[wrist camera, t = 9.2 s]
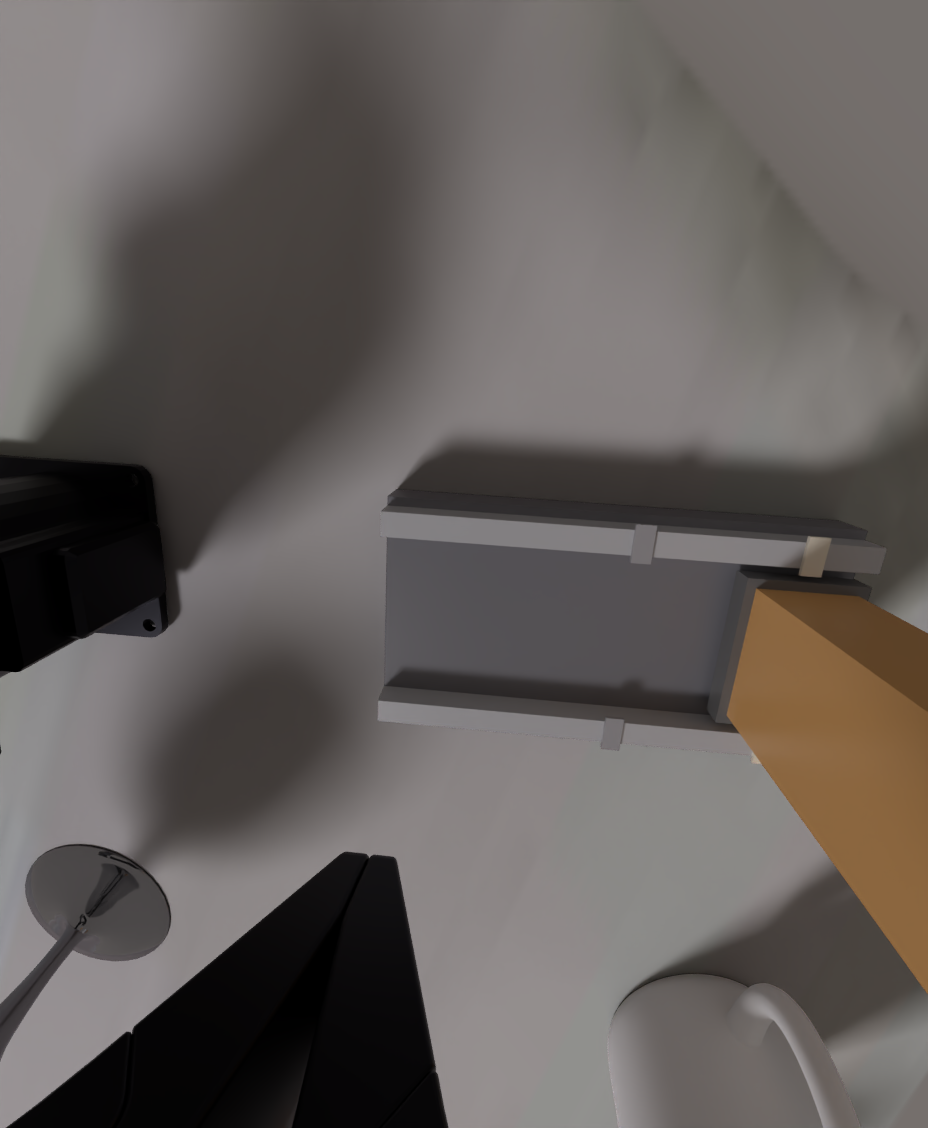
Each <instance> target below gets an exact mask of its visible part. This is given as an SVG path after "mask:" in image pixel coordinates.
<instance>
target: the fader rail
mask: <svg viewBox="0 0 928 1128" xmlns="http://www.w3.org/2000/svg"><path fill="white" fill-rule="evenodd" d="M866 535H867V530H864V529H861V528H858V527H855V526H853V525H850V524H847V523H844V522H841V521H837V520H823V519H809V518H795V517H781V516H767V515H753V514H738V513H724V512H710V511H696V510H682V509H668V508H654V507H640V506H626V505H612V504H598V503H583V502H569V501H555V500H541V499H527V498H513V497H499V496H485V495H471V494H457V493H443V492H428V491H414V490H400V489H396V490H395V491H394V492H392V493H391V494H390V495H389V496H388V505H387V506H386V507H385V508H384V509H383V510H382V511H381V527H380V537H387V563H386V620H385V677H384V688H383V690H382V693H381V695H380V697H379V700H378V721H384V722H395V723H406V724H416V725H427V726H438V727H449V728H459V729H470V730H481V731H492V732H502V733H513V734H524V735H534V736H545V737H556V738H567V739H577V740H588V741H599V742H601V749H607V750H618V751H619V748H620V744H631V745H642V746H652V747H663V748H674V749H685V750H695V751H706V752H717V753H727V754H738V755H749V756H752V757H751V762H752V763H756V764H761V762H760V761H759V760H758V758H757V757H756V755H755V754H754V753H753V751H752V750H751V749H750V747H749V746H748V744H747V743H746V742H745V740H744V739H743V737H742V736H741V735H740V733H739V732H738V731H737V729H736V728H735V726H734V725H733V724H727V723H716V722H715V721H714V720H713V718H712V717H711V715H710V714H709V712H708V711H707V709H706V708H707V704H708V699H709V695H710V690H711V686H712V681H713V677H714V672H715V668H716V663H717V659H718V654H719V649H720V645H721V640H722V636H723V631H724V627H725V622H726V618H727V613H728V609H729V604H730V600H731V595H732V591H733V586H734V581H735V577H736V572H737V570H740V571H753V572H766V573H779V574H792V575H800V576H807V577H831V578H845V579H854V576H855V573H868V574H880V571H881V568H882V564H883V561H884V558H885V555H886V551H887V548H885V547H882V546H879V545H877V544H874V543H871V542H869V541H866V540H865V538H866Z"/></svg>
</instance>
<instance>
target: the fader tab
mask: <svg viewBox="0 0 928 1128" xmlns="http://www.w3.org/2000/svg"><path fill="white" fill-rule="evenodd" d="M871 589H872V588H871V587H869V586H867V585H865V584H863V583H861V582H859V581H857V580H855V579H845V578H831V577H807V576H800V575H792V574H779V573H766V572H753V571H740V570H737V572H736V577H735V581H734V586H733V591H732V595H731V600H730V604H729V609H728V613H727V618H726V622H725V627H724V631H723V636H722V640H721V645H720V649H719V654H718V659H717V663H716V668H715V672H714V677H713V681H712V686H711V690H710V695H709V699H708V704H707V708H706V709H707V711H708V712H709V714H710V715H711V717H712V718H713V720H714V721H715V722H716V723H727V724H733V725H734V726H735V728H736V729H737V731H738V732H739V733H740V735H741V736H742V737H743V739H744V740H745V742H746V743H747V744H748V746H749V747H750V749H751V750H752V751H753V753H754V754H755V755H756V757H757V758H758V760H759V761H760V762H761V764H762V765H763V767H764V768H765V769H766V771H767V772H768V773H769V775H770V776H771V778H772V779H773V780H774V782H775V783H776V785H777V786H778V787H779V789H780V790H781V792H782V793H783V794H784V796H785V797H786V798H787V800H788V801H789V803H790V804H791V805H792V807H793V808H794V810H795V811H796V812H797V814H798V815H799V816H800V818H801V819H802V821H803V822H804V823H805V825H806V826H807V828H808V829H809V830H810V832H811V833H812V834H813V836H814V837H815V839H816V840H817V841H818V843H819V844H820V846H821V847H822V848H823V850H824V851H825V852H826V854H827V855H828V857H829V858H830V859H831V861H832V862H833V864H834V865H835V866H836V868H837V869H838V871H839V872H840V873H841V875H842V876H843V877H844V879H845V880H846V882H847V883H848V884H849V886H850V887H851V889H852V890H853V891H854V893H855V894H856V895H857V897H858V898H859V900H860V901H861V902H862V904H863V905H864V907H865V908H866V909H867V911H868V912H869V913H870V915H871V916H872V918H873V919H874V920H875V922H876V923H877V925H878V926H879V927H880V929H881V930H882V932H883V933H884V934H885V936H886V937H887V938H888V940H889V941H890V943H891V944H892V945H893V947H894V948H895V950H896V951H897V952H898V954H899V955H900V956H901V958H902V959H903V961H904V962H905V963H906V965H907V966H908V968H909V969H910V970H911V972H912V973H913V974H914V976H915V977H916V979H917V980H918V981H919V983H920V984H921V986H922V987H923V988H924V990H925V991H926V992H927V994H928V633H926V632H924V631H922V630H920V629H919V628H917V627H915V626H913V625H911V624H909V623H907V622H906V621H904V620H902V619H900V618H898V617H896V616H894V615H892V614H891V613H889V612H887V611H885V610H883V609H881V608H879V607H878V606H876V605H874V604H872V603H870V602H868V599H869V596H870V593H871Z"/></svg>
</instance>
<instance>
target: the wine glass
mask: <svg viewBox="0 0 928 1128" xmlns="http://www.w3.org/2000/svg"><path fill="white" fill-rule="evenodd" d="M25 893H26V898H27V902H28V905H29V907H30V909H31V912H32V914H33V915H34V917H35V918H36V920H37V921H38V923H39V924H40V925H41V926H42V927H43V928H44V929H45V931H46V932H47V933H49V934H50V935H51V936H52V937H53V938H54V939H56V940H57V942H56V943H55V945H54V946H53V947H52V948H51V949H50V951H49V952H48V953H47V954H46V956H45V957H44V958H43V959H42V960H41V961H40V963H39V964H38V965H37V966H36V967H35V968H34V969H33V970H32V972H31V973H30V974H29V975H28V976H27V977H26V978H25V979H24V980H23V981H22V982H21V983H20V984H19V985H18V986H17V987H16V988H15V989H14V991H13V992H12V993H11V994H10V995H9V996H8V997H7V998H6V999H5V1000H4V1001H3V1002H2V1003H1V1004H0V1061H1V1058H2V1056H3V1054H4V1051H5V1049H6V1047H7V1045H8V1043H9V1042H10V1040H11V1038H12V1036H13V1035H14V1033H15V1031H16V1030H17V1028H18V1027H19V1025H20V1023H21V1022H22V1020H23V1019H24V1017H25V1015H26V1014H27V1012H28V1011H29V1009H30V1008H31V1006H32V1005H33V1003H34V1002H35V1000H36V999H37V997H38V996H39V994H40V993H41V991H42V990H43V988H44V987H45V986H46V984H47V983H48V981H49V980H50V979H51V977H52V976H53V974H54V973H55V972H56V971H57V969H58V968H59V967H60V965H61V964H62V963H63V961H64V960H65V959H66V958H67V957H68V955H69V954H70V953H71V952H72V950H74V951H76V952H78V953H80V954H83V955H86V956H88V957H92V958H96V959H100V960H107V961H128V960H133V959H137V958H140V957H143V956H146V955H147V954H149V953H151V952H152V951H154V950H155V949H156V948H157V947H158V946H159V945H160V944H161V943H162V942H163V941H164V939H165V937H166V936H167V933H168V930H169V927H170V912H169V906H168V904H167V901H166V898H165V896H164V894H163V893H162V891H161V889H160V888H159V886H158V885H157V884H156V883H155V881H154V880H153V879H152V878H151V877H150V876H149V875H148V874H147V873H146V872H145V871H144V870H143V869H142V868H140V867H139V866H137V865H136V864H135V863H133V862H132V861H130V860H128V859H127V858H125V857H123V856H121V855H119V854H117V853H114V852H111V851H109V850H106V849H102V848H98V847H93V846H85V845H70V846H63V847H59V848H55V849H53V850H50V851H48V852H46V853H45V854H43V855H42V856H40V857H39V858H38V859H37V860H36V861H35V862H34V863H33V865H32V866H31V868H30V870H29V872H28V874H27V878H26V883H25Z"/></svg>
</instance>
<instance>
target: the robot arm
mask: <svg viewBox="0 0 928 1128" xmlns="http://www.w3.org/2000/svg"><path fill="white" fill-rule="evenodd" d="M132 474H134V475H135V476H136V477H137V478H138V485H136V484H135V483H134V482H133V480H132ZM165 591H166V582H165V573H164V564H163V555H162V546H161V537H160V529H159V527H158V526H157V517H156V508H155V499H154V490H153V481H152V477H151V474H150V473H149V471H148V470H147V469H146V468H144V467H143V466H140V465H134V464H120V463H106V462H91V461H77V460H63V459H49V458H35V457H20V456H6V455H0V677H2V676H4V675H6V674H8V673H10V672H20V671H22V670H24V669H26V668H27V667H29V666H31V665H33V664H35V663H36V662H38V661H40V660H42V659H44V658H45V657H47V656H49V655H51V654H53V653H55V652H56V651H58V650H60V649H62V648H64V647H65V646H67V645H69V644H71V643H73V642H74V641H76V640H78V639H83V638H86V637H88V636H90V635H92V634H94V633H106V634H118V635H129V636H141V637H156V636H158V635H159V634H161V633H162V632H164V631H165V630H166V629H167V627H168V615H167V606H166V597H165ZM149 620H152V621H153V622H154V623H155V625H156V627H154V626H152V625H151V624H150V621H149ZM0 754H1V747H0ZM6 1128H448V1123H447V1119H446V1114H445V1110H444V1105H443V1099H442V1094H441V1089H440V1083H439V1078H438V1074H437V1073H436V1066H435V1060H434V1055H433V1050H432V1045H431V1039H430V1034H429V1029H428V1023H427V1018H426V1013H425V1008H424V1002H423V997H422V992H421V986H420V981H419V976H418V971H417V965H416V960H415V955H414V949H413V944H412V939H411V934H410V928H409V923H408V918H407V912H406V907H405V902H404V897H403V891H402V886H401V881H400V875H399V870H398V865H397V860H396V858H394V857H391V856H382V855H372V856H371V857H370V858H369V856H368V855H367V854H363V853H354V852H344V853H342V854H340V855H339V856H338V857H337V858H335V859H334V860H333V861H332V862H331V863H329V864H328V865H327V866H326V867H325V868H323V869H322V870H321V871H320V872H319V873H317V874H316V875H315V876H314V877H313V878H311V879H310V880H309V881H308V882H307V883H305V884H304V885H303V886H302V887H301V888H299V889H298V890H297V891H296V892H295V893H293V894H292V895H291V896H290V897H289V898H287V899H286V900H285V901H284V902H283V903H281V904H280V905H279V906H278V907H277V908H275V909H274V910H273V911H272V912H271V913H269V914H268V915H267V916H266V917H265V918H263V919H262V920H261V921H260V922H259V923H257V924H256V925H255V926H254V927H253V928H251V929H250V930H249V931H248V932H247V933H245V934H244V935H243V936H242V937H241V938H240V939H238V940H237V941H236V942H235V943H234V944H232V945H231V946H230V947H229V948H228V949H226V950H225V951H224V952H223V953H222V954H220V955H219V956H218V957H217V958H216V959H214V960H213V961H212V962H211V963H210V964H208V965H207V966H206V967H205V968H204V969H202V970H201V971H200V972H199V973H198V974H196V975H195V976H194V977H193V978H192V979H190V980H189V981H188V982H187V983H186V984H184V985H183V986H182V987H181V988H180V989H178V990H177V991H176V992H175V993H174V994H172V995H171V996H170V997H169V998H168V999H166V1000H165V1001H164V1002H163V1003H162V1004H160V1005H159V1006H158V1007H157V1008H156V1009H154V1010H153V1011H152V1012H151V1013H150V1014H148V1015H147V1016H146V1017H145V1018H144V1019H143V1020H141V1021H140V1022H139V1023H138V1024H137V1025H135V1026H134V1028H133V1030H132V1034H131V1032H126V1033H124V1034H123V1035H122V1036H121V1037H119V1038H118V1039H117V1040H116V1041H115V1042H113V1043H112V1044H111V1045H110V1046H109V1047H107V1048H106V1049H105V1050H104V1051H103V1052H101V1053H100V1054H99V1055H98V1056H97V1057H95V1058H94V1059H93V1060H92V1061H90V1062H89V1063H88V1064H87V1065H85V1066H84V1067H83V1068H82V1069H80V1070H79V1071H78V1072H77V1073H76V1074H74V1075H73V1076H72V1077H71V1078H69V1079H68V1080H67V1081H66V1082H64V1083H63V1084H62V1085H61V1086H59V1087H58V1088H57V1089H56V1090H54V1091H53V1092H52V1093H51V1094H49V1095H48V1096H47V1097H46V1098H44V1099H43V1100H42V1101H41V1102H39V1103H38V1104H37V1105H36V1106H34V1107H33V1108H32V1109H30V1110H29V1111H28V1112H26V1113H25V1114H24V1115H22V1116H21V1117H20V1118H18V1119H17V1120H16V1121H14V1122H13V1123H12V1124H10V1125H9V1126H8V1127H6Z"/></svg>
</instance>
